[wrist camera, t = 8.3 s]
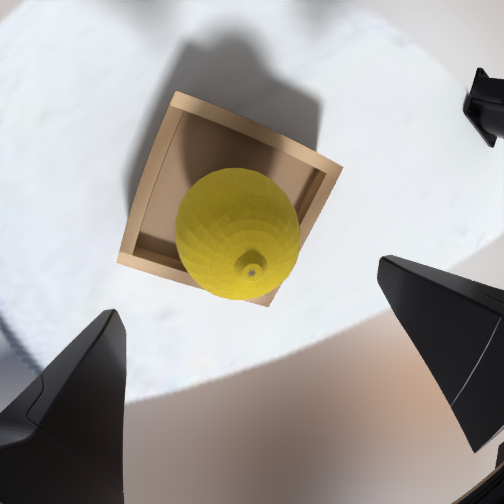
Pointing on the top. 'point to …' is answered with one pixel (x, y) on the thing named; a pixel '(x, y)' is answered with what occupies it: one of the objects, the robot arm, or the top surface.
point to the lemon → (237, 234)
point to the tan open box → (203, 163)
